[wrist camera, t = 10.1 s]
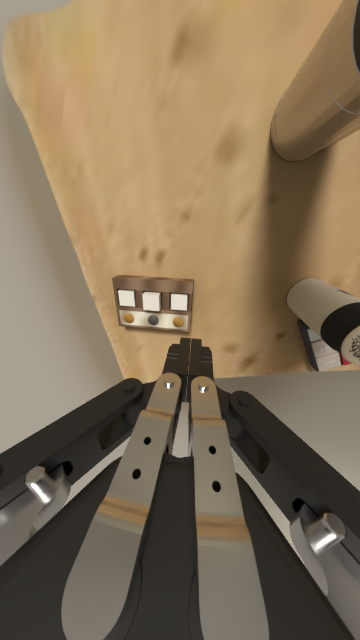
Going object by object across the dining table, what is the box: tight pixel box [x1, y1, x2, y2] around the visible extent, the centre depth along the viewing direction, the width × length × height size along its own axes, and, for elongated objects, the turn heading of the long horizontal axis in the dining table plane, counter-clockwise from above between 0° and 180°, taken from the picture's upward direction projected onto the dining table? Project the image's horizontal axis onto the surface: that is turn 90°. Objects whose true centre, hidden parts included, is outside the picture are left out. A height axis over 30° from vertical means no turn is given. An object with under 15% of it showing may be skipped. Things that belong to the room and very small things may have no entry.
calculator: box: [297, 319, 351, 372], centre depth 42 cm, size 11×4×15 cm
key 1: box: [118, 289, 137, 307], centre depth 41 cm, size 4×4×2 cm
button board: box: [112, 275, 194, 332], centre depth 42 cm, size 18×12×3 cm
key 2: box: [171, 293, 188, 311], centre depth 41 cm, size 4×4×2 cm
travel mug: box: [287, 278, 360, 365], centre depth 31 cm, size 8×8×18 cm
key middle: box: [142, 291, 162, 311], centre depth 40 cm, size 4×4×2 cm
